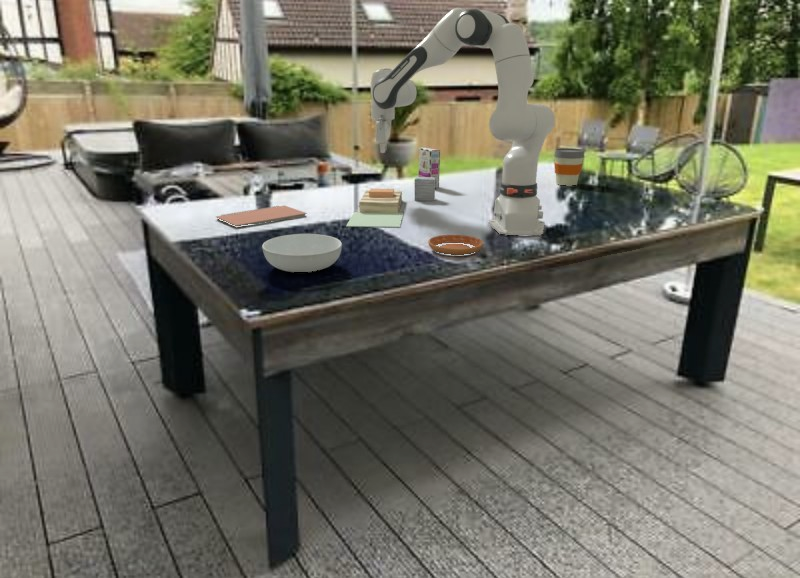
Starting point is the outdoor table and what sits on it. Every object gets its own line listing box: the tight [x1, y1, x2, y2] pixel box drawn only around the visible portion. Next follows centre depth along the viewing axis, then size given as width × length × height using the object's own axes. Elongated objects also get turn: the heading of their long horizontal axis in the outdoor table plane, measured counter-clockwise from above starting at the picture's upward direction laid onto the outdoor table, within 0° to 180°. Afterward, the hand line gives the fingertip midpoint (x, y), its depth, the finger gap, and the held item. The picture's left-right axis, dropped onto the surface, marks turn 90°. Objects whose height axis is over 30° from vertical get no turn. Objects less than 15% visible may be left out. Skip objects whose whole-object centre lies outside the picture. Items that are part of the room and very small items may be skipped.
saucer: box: [428, 234, 484, 255], centre depth 184 cm, size 16×16×3 cm
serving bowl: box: [261, 233, 343, 273], centre depth 168 cm, size 21×21×7 cm
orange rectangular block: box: [369, 188, 395, 197], centre depth 238 cm, size 6×9×2 cm, turn 86°
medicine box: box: [414, 176, 436, 202], centre depth 248 cm, size 8×4×9 cm, turn 84°
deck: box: [358, 189, 403, 213], centre depth 238 cm, size 22×14×4 cm, turn 176°
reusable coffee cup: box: [553, 147, 585, 187], centre depth 277 cm, size 13×13×15 cm
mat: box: [345, 211, 404, 228], centre depth 219 cm, size 20×18×1 cm
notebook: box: [215, 205, 307, 226], centre depth 222 cm, size 27×17×2 cm, turn 129°
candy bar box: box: [418, 147, 441, 189], centre depth 272 cm, size 11×5×16 cm, turn 25°
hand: (383, 151), depth 242 cm, fingers open, 4 cm apart
